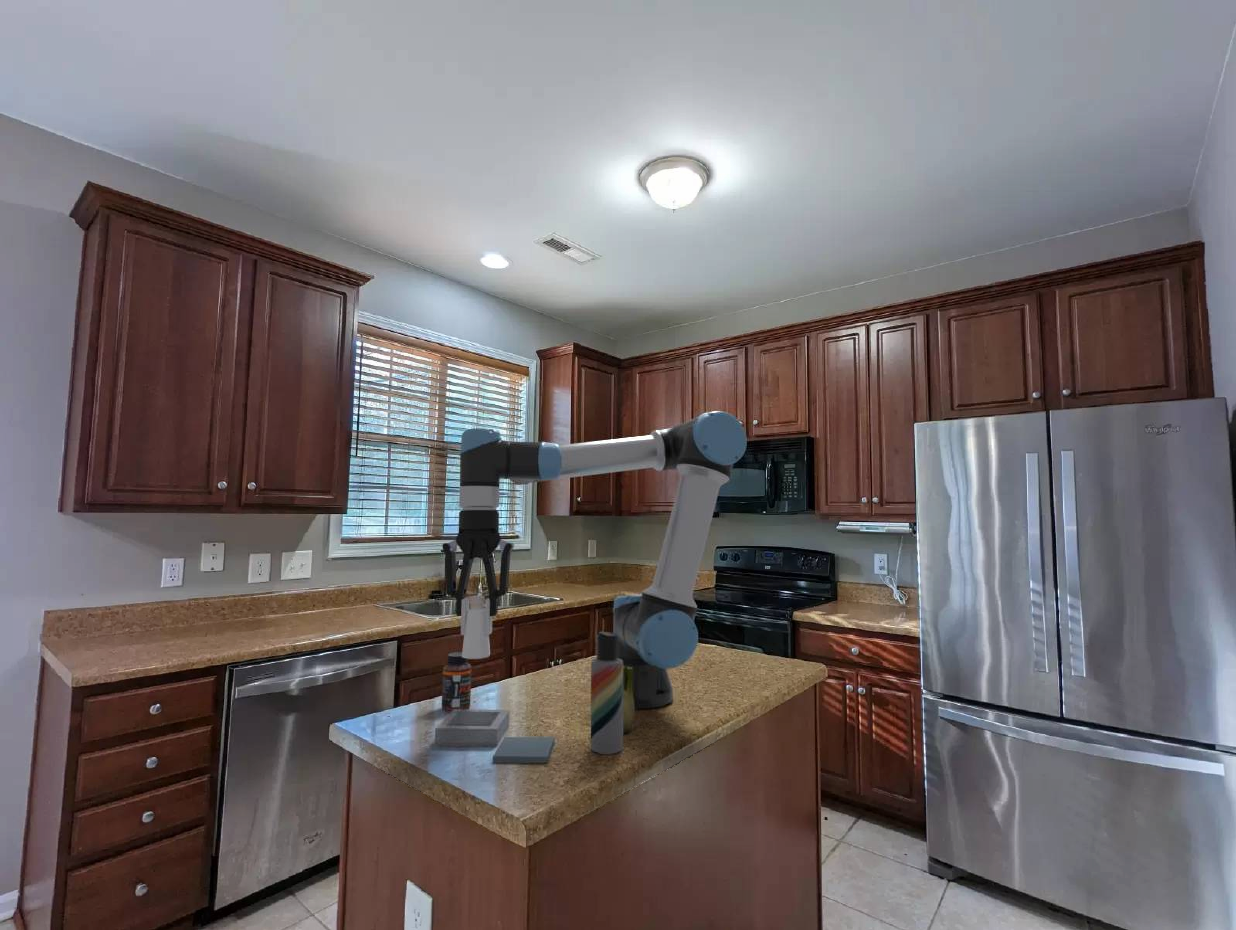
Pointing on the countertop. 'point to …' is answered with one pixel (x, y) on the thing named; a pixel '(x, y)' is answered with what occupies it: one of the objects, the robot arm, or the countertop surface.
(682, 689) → the countertop surface
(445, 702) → the supplement bottle
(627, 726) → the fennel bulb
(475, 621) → the salt shaker
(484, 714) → the gray square tray
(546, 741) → the mat
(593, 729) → the lotion bottle
